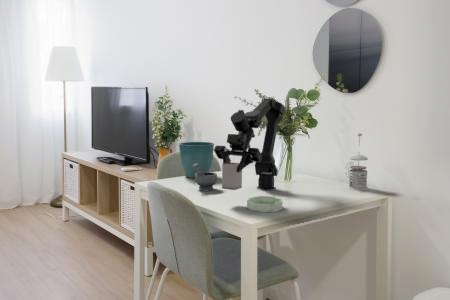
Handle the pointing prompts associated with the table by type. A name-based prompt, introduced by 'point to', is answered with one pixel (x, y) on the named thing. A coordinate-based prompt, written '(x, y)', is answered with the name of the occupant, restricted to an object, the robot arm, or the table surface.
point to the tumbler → (231, 176)
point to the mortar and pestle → (204, 178)
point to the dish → (264, 203)
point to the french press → (357, 173)
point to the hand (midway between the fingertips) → (230, 171)
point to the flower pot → (196, 156)
